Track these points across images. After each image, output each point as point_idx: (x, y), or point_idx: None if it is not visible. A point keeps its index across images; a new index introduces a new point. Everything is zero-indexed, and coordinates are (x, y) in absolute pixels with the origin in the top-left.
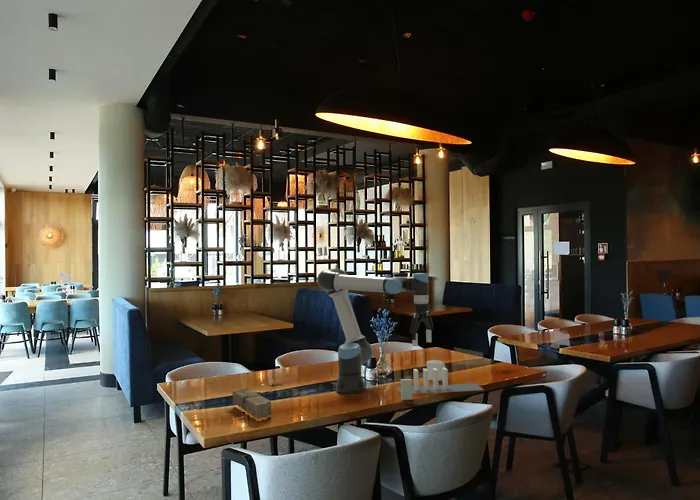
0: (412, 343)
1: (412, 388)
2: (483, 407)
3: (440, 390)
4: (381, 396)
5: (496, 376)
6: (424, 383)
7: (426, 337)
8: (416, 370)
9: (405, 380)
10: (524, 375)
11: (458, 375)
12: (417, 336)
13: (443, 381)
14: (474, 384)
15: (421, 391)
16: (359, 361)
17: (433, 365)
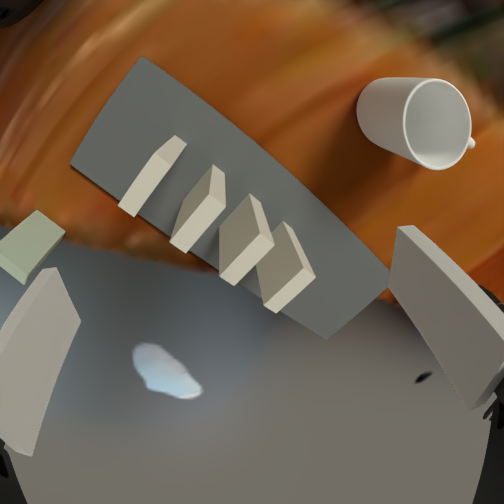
0: (29, 288)
1: (171, 128)
2: (177, 396)
3: None
4: (18, 118)
5: (489, 266)
6: (193, 192)
7: (431, 264)
8: (138, 196)
9: (5, 267)
10: None
11: (479, 162)
12: (41, 418)
13: (274, 248)
14: (379, 285)
15: (158, 195)
16: None
17: (398, 138)
